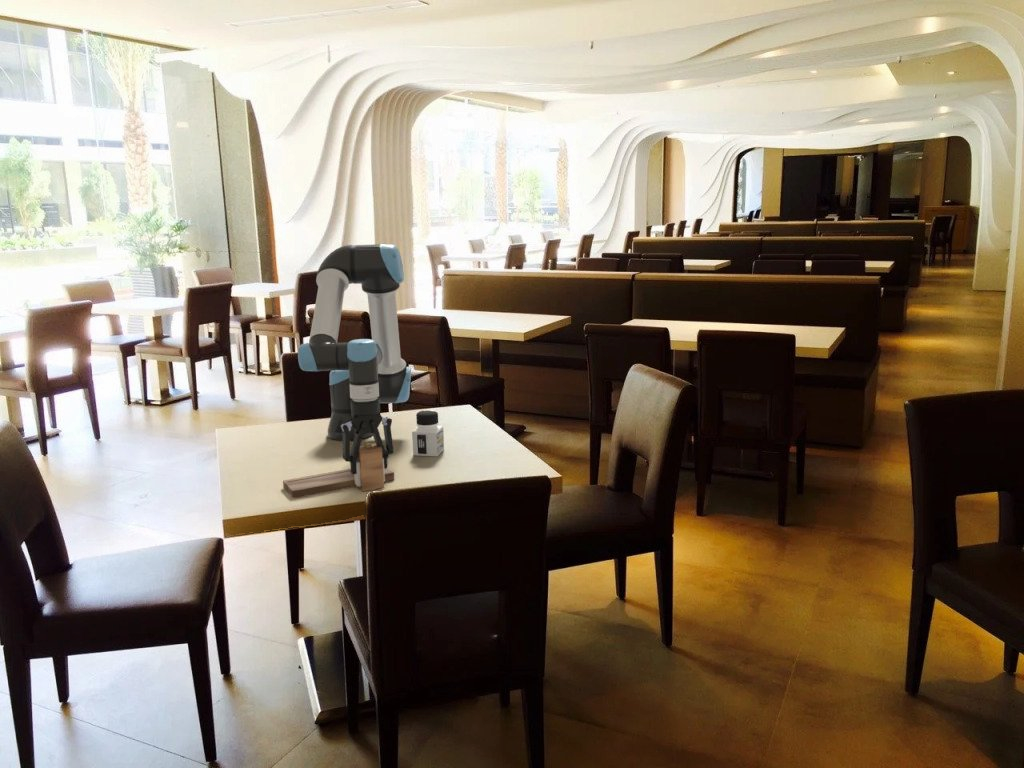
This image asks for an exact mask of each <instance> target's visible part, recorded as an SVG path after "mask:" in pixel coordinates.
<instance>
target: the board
mask: <svg viewBox="0 0 1024 768" xmlns="http://www.w3.org/2000/svg"><path fill="white" fill-rule="evenodd" d="M384 472H385V482H387V481H388V482H389V481H393V480H395V471H393V470H391V469H390V468H388V467H387V468H386V469H384ZM282 483H283V484H282V486H283V487H282V488H283V489H284V490H285V491H286V492H287V493H288V494H289V495H290V497H291V498H292V499H297V498H301V497H308V496H313V495H317V494H322V493H324V494H325V493H329V492H334V491H339V490H345V489H349V488H350V489H351V488H355V487H357V486H356V484H355V476H354V474H352V473H351V468H347V469H342V470H336V471H335V470H334V471H330V472H323V473H318V474H313V475H308V476H302V477H297V478H296V477H295V478H291V479H283V480H282Z"/></svg>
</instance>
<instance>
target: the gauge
mask: <svg viewBox="0 0 1024 768" xmlns="http://www.w3.org/2000/svg"><path fill="white" fill-rule="evenodd" d="M357 461H358V462H359V463H360V478H361V486H357V485H356V487H357V488H358V489H359V490H360V491H362V492H366V491H371V490H370V489H372V490H377V489H376V488H378V489H382V488H385V482H384V475H383V458H382V447H379V446H378V445H376V442H375V443H370V442H369V443H364V444H363V445H362V444H361V445H360V449H359V453H358V457H357Z"/></svg>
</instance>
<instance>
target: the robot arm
mask: <svg viewBox="0 0 1024 768" xmlns="http://www.w3.org/2000/svg"><path fill="white" fill-rule="evenodd" d="M402 260H403V259H402V256H401V253H400V250H399V248H398V246H396V245H395V244H384V243H380V244H379V243H378V244H355V245H353V244H346V245H343V246H340V247H338V248H336V249H334V250H333V251H331V252H330V253H329V254H328V255H327V256H326V257H325V258H324V259H323V261H322V262H321V264H320V265H319V267H318V270H317V273H316V279H315V282H316V285H317V293H316V299H315V305H314V312H313V317H312V322H311V328H310V335H309V339H308V342H306V343H300V345H299V347H298V349H297V360H298V366H299V368H300V370H302V371H304V372H329V371H330V372H329V383H328V385H329V392H330V405H331V416H330V420H329V424H328V426H327V427H328V428H327V437H328V439H331V440H336V441H342V460H343V461H345V462H348V463H349V465H350V468H349V469H351V473H352V474H354V476H355V484H356V485H357V486H361V478H360V463H359V462H358V461H357V457H358V453H359V449H360V446H362V440H363V439H366V438H369V437H372V436H373V440H374V442H375V443H376V445H378V446H379V447H382V458H383V475H384V483H385V482H386V481H385V472H384V469H386V468H388V458H389V456H390V455H393V454H394V444H393V436H392V428H391V427H392V421H393V420H392V418H390V417H388V416H386V417H383V416H382V414H381V404H398V403H406V402H407V401H408V400H409V397H410V391H411V378H412V377H411V376H412V367H410V366H407V362H406V361H405V359H403V358H402V355H401V345H400V344H401V343H400V331H399V321H398V320H399V319H398V309H397V299H396V293H397V291H398V290H399V289H400V287H401V286H400V284H401V283H403V282H404V280H405V276H404V275H405V274H404V273H405V272H404V266H403V261H402ZM351 284H352V285H353V284H355V285H357V284H359V285H361V290H362V292H364V293H365V294H366V295H367V302H368V314H369V320H370V321H369V322H370V330H371V331H370V332H371V338H359V339H352V340H350V341H348V342H338V338H339V331H340V326H341V324H340V323H341V317H342V310H343V303H344V297H345V291H347V290H348V288H349V286H350V285H351ZM380 424H382V425H383V435H384V442H385V443H383V440H382V437H381V435H380V431H379V429H378V428H379V426H380ZM351 441H353V442H352V445H351ZM351 446H352V447H351ZM357 486H356V487H357Z"/></svg>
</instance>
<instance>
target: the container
mask: <svg viewBox="0 0 1024 768" xmlns="http://www.w3.org/2000/svg"><path fill="white" fill-rule="evenodd" d="M415 415H416V417H415V418H416V428H415V429H413V430H412V432H411V439H412V451H413V452H412V455H413V456H414V457H415V456H416V457H418V456H419V457H422V456H423V457H438V456H439V455H440V454H441V453H442V452H443V451H445V443H444V442H445V439H444V438H445V436H444V426H443V425H439V414H438V411H436V410H433V409H424V410H420V411H418V412H417V413H416V414H415Z"/></svg>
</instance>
